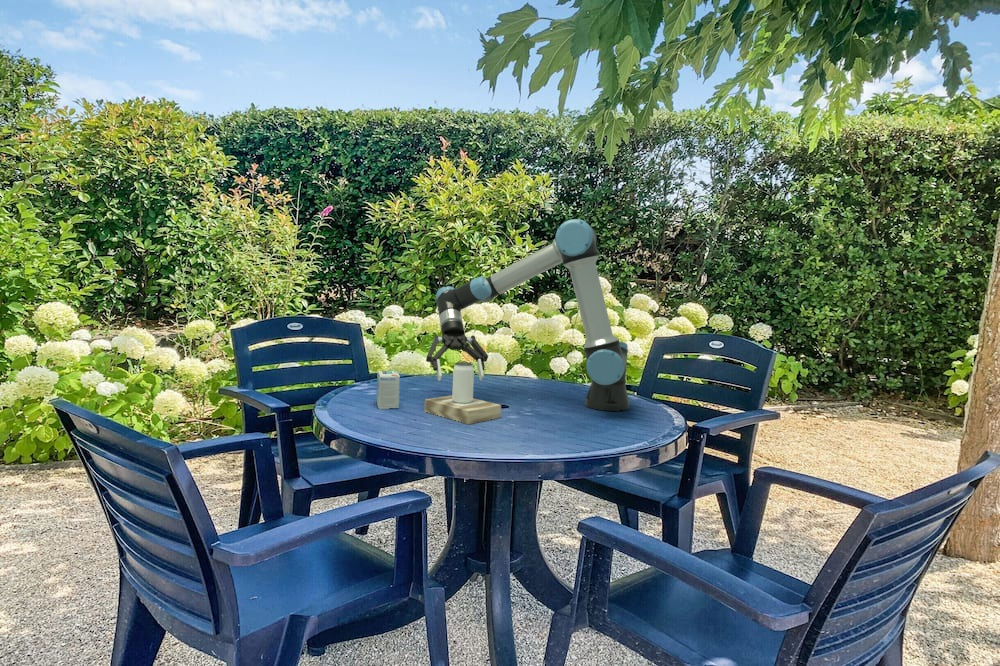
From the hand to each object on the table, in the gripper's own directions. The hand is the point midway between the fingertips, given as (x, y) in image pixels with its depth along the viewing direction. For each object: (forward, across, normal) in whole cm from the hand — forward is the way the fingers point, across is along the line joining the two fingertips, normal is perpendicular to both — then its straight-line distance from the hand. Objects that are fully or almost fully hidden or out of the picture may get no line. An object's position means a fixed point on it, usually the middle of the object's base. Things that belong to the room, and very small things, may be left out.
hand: (461, 378), depth 191 cm
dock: (+9, 0, -7) cm, 11 cm away
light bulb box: (-2, +21, -18) cm, 28 cm away
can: (+6, 0, -4) cm, 8 cm away
